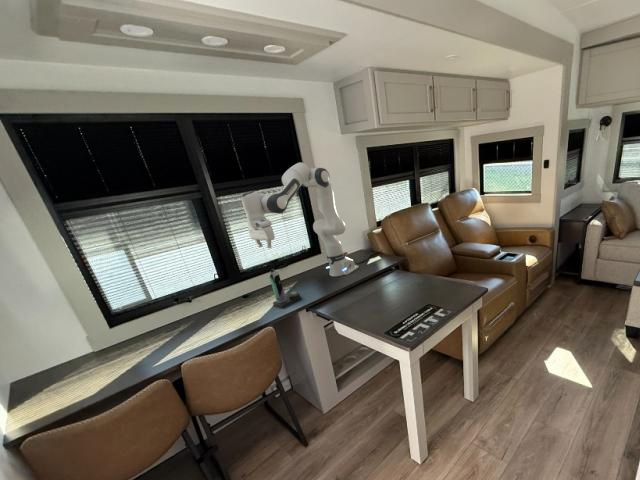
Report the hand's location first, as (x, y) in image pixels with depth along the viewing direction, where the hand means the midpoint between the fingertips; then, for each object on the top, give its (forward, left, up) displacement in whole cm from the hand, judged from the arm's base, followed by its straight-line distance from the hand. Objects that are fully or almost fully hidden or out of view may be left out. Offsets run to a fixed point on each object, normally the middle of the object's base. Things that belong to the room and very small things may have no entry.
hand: (265, 247), depth 174 cm
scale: (-3, +2, -35) cm, 35 cm away
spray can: (0, 0, -33) cm, 33 cm away
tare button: (-6, +4, -32) cm, 32 cm away
